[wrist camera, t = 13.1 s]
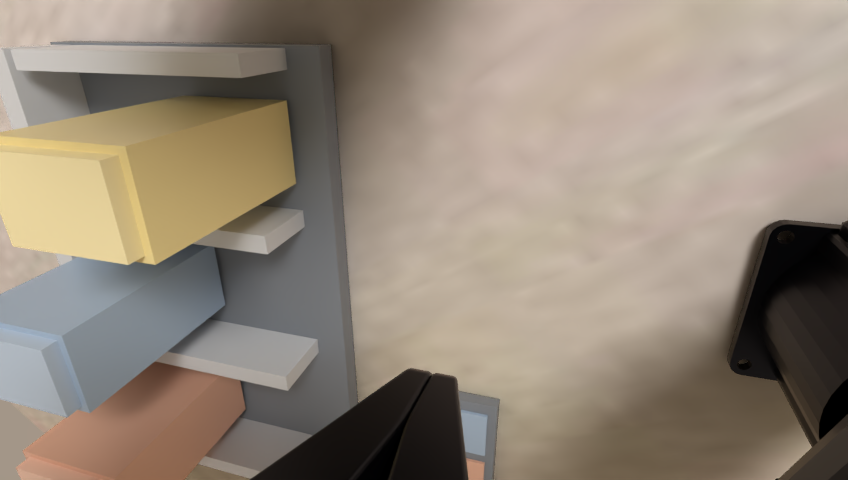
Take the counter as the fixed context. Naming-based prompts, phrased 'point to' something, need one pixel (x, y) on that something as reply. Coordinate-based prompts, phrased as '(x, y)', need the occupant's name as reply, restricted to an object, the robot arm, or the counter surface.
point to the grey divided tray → (236, 225)
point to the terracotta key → (140, 429)
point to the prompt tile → (479, 434)
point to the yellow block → (142, 176)
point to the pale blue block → (99, 326)
